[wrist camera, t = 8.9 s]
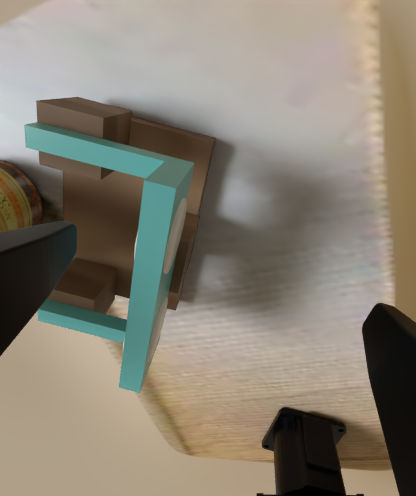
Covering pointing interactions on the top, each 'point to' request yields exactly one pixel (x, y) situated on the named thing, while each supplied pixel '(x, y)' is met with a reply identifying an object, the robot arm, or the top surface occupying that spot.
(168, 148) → the stand
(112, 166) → the glasses
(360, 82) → the top surface
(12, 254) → the robot arm
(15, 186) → the sauce bottle
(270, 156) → the top surface
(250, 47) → the top surface
